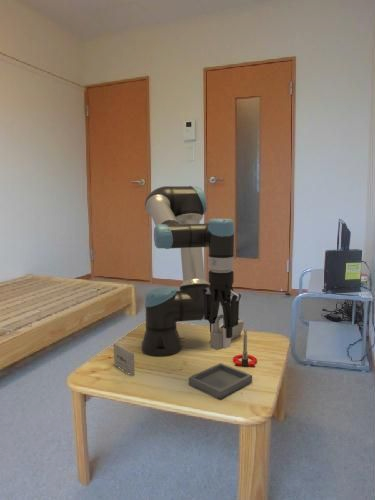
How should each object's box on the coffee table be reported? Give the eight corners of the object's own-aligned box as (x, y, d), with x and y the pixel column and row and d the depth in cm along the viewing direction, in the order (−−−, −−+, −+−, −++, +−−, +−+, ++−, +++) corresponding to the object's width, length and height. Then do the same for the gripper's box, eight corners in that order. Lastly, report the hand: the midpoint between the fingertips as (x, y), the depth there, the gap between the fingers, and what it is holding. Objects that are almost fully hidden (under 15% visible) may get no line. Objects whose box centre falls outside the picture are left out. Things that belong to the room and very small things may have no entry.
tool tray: (188, 384, 123) (188, 377, 122) (220, 370, 133) (220, 363, 133) (220, 399, 114) (220, 391, 113) (252, 382, 124) (252, 375, 124)
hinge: (230, 331, 171) (237, 312, 168) (239, 337, 168) (246, 317, 165) (208, 343, 158) (215, 322, 154) (217, 349, 155) (225, 328, 152)
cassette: (113, 364, 138) (112, 343, 137) (117, 363, 139) (117, 342, 138) (131, 376, 129) (130, 354, 128) (135, 375, 130) (135, 352, 129)
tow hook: (233, 356, 145) (232, 366, 136) (233, 322, 144) (233, 329, 135) (256, 358, 144) (257, 367, 135) (257, 323, 143) (258, 330, 134)
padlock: (222, 341, 126) (222, 311, 124) (232, 344, 123) (233, 313, 122) (208, 348, 120) (208, 316, 119) (219, 351, 118) (219, 318, 116)
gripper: (191, 268, 122) (192, 341, 125) (235, 275, 110) (235, 356, 113) (208, 265, 127) (208, 335, 130) (251, 272, 115) (250, 349, 118)
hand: (220, 345), depth 122 cm, fingers closed on padlock, 4 cm apart
